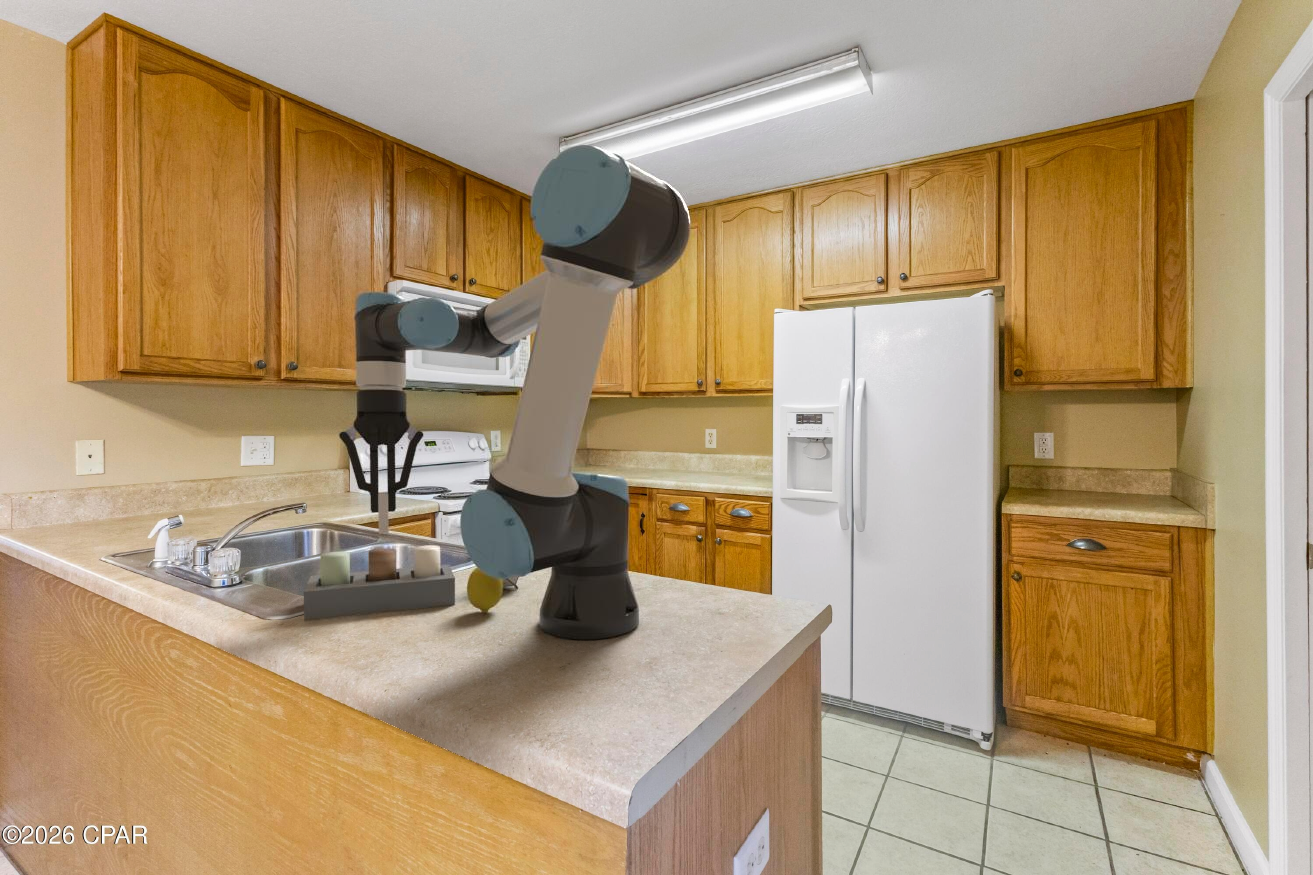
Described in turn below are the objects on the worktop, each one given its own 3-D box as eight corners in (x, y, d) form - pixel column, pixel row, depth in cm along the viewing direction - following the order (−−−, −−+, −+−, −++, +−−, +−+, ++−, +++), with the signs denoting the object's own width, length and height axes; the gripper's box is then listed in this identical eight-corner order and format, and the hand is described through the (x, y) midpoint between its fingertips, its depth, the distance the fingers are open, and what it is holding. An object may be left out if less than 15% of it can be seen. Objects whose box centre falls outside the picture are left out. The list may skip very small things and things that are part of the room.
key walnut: (396, 594, 103) (396, 552, 103) (368, 597, 101) (368, 554, 101) (396, 588, 107) (395, 547, 107) (369, 590, 105) (368, 549, 105)
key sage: (349, 599, 100) (349, 556, 100) (319, 602, 99) (319, 558, 98) (350, 592, 104) (350, 550, 104) (322, 595, 103) (321, 552, 102)
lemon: (493, 619, 97) (493, 568, 97) (460, 616, 98) (460, 566, 98) (508, 608, 102) (508, 560, 102) (477, 606, 104) (477, 558, 103)
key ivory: (441, 590, 106) (441, 549, 106) (414, 592, 104) (414, 551, 104) (439, 584, 110) (439, 544, 110) (413, 586, 108) (413, 546, 108)
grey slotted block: (454, 604, 104) (454, 577, 104) (304, 620, 95) (303, 591, 95) (449, 588, 113) (448, 564, 113) (310, 602, 104) (310, 575, 104)
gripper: (422, 390, 109) (424, 525, 110) (338, 389, 104) (341, 530, 104) (425, 388, 102) (426, 532, 103) (335, 387, 97) (338, 538, 98)
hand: (383, 531), depth 104 cm, fingers closed
